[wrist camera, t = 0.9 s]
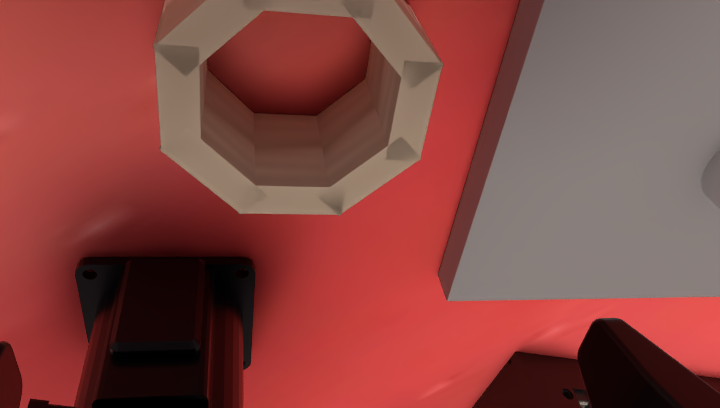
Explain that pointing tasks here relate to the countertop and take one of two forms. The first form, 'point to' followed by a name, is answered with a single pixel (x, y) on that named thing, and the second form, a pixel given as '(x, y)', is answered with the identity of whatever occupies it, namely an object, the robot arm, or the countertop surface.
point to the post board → (596, 158)
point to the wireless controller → (542, 384)
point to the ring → (294, 132)
